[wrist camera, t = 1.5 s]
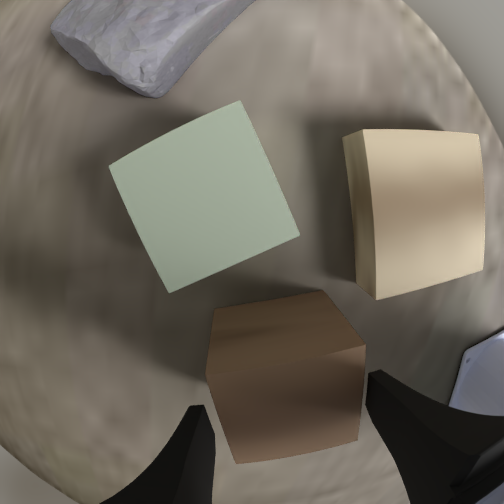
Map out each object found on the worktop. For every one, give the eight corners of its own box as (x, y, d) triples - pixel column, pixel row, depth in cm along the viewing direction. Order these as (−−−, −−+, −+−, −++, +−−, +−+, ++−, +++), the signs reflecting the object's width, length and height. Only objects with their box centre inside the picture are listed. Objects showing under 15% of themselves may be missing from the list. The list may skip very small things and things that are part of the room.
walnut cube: (327, 374, 17) (357, 440, 11) (234, 390, 17) (235, 464, 11) (322, 289, 16) (365, 344, 10) (214, 308, 16) (204, 374, 10)
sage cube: (278, 218, 15) (300, 235, 10) (189, 258, 15) (168, 293, 10) (238, 128, 14) (240, 100, 9) (148, 171, 14) (108, 166, 9)
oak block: (454, 257, 16) (482, 269, 13) (353, 280, 16) (376, 300, 13) (447, 138, 14) (478, 134, 11) (339, 138, 14) (362, 129, 11)
